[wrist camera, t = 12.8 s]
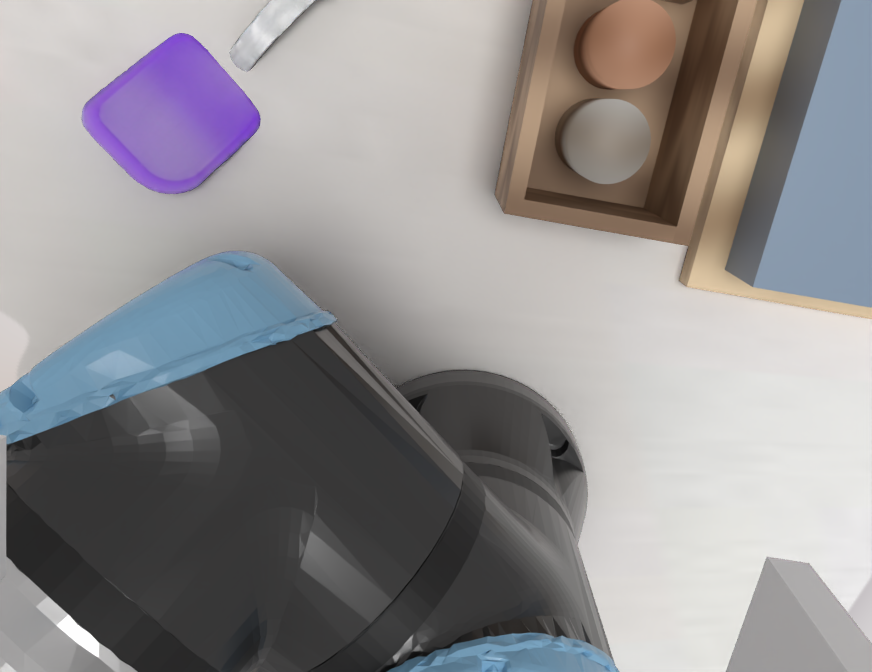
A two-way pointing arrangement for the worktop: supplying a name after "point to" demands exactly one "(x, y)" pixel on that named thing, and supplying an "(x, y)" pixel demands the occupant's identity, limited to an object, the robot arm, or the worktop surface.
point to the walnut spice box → (621, 112)
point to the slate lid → (815, 165)
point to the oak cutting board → (746, 162)
